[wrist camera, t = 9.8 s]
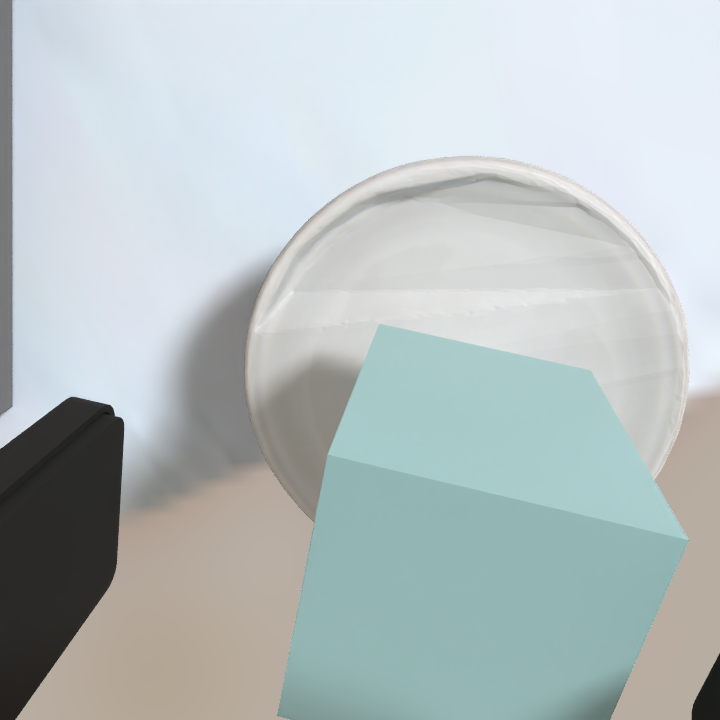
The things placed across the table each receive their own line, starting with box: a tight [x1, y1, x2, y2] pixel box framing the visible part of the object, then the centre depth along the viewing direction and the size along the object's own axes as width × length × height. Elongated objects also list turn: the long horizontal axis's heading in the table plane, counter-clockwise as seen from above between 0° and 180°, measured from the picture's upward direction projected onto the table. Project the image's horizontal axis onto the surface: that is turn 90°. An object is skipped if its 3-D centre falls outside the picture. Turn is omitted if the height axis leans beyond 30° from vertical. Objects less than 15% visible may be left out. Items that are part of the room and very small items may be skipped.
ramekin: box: [244, 156, 690, 523], centre depth 19 cm, size 11×11×5 cm
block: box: [277, 324, 689, 720], centre depth 12 cm, size 4×4×8 cm
